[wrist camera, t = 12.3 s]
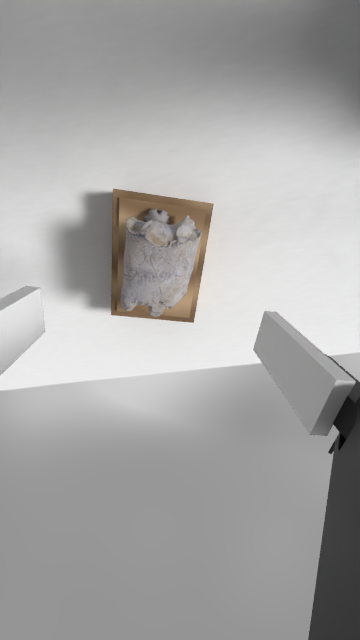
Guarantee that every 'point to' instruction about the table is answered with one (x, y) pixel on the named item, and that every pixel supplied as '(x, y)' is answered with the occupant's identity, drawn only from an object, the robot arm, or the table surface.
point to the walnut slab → (177, 210)
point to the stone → (158, 261)
